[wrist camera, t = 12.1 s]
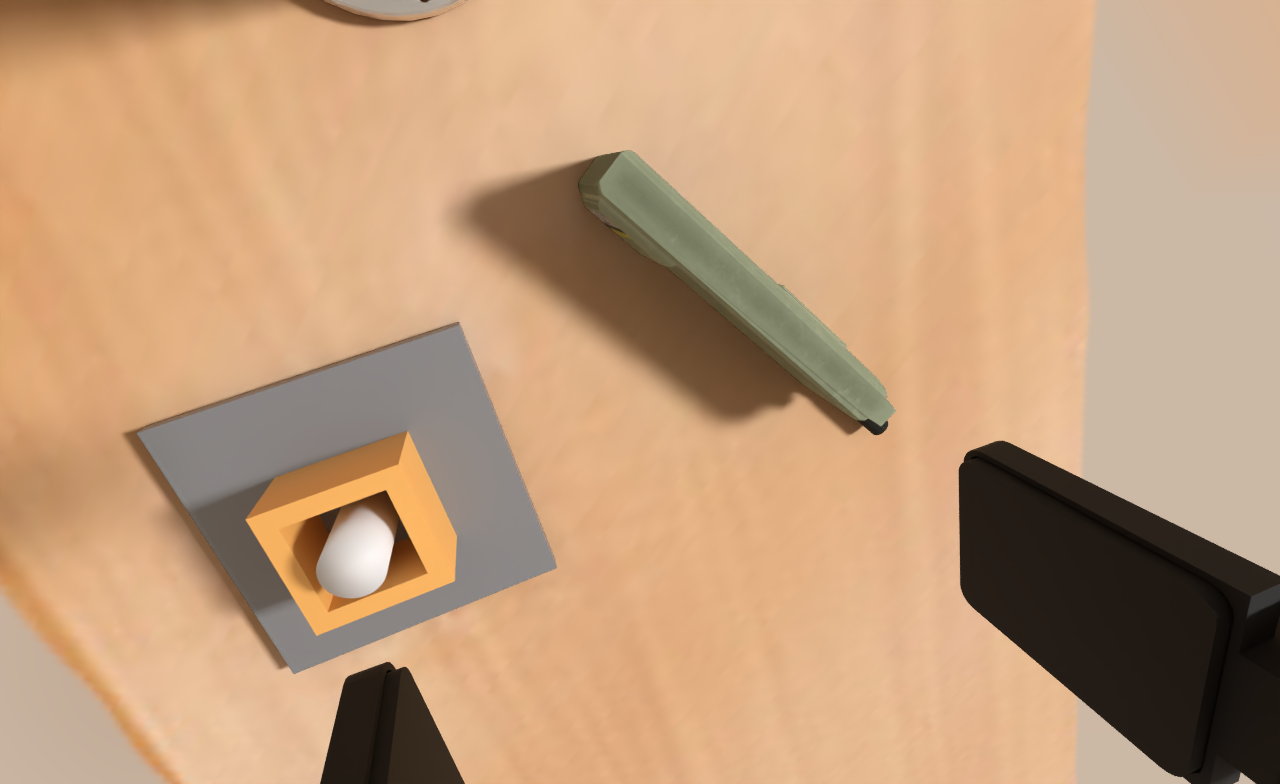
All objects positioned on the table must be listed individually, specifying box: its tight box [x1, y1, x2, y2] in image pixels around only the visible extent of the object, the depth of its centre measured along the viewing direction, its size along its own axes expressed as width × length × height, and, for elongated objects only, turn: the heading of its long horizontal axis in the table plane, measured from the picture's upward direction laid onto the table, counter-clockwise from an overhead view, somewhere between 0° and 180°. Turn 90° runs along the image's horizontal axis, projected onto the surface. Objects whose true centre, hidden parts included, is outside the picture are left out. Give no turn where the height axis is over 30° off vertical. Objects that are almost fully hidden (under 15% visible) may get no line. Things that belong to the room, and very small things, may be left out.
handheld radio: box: [578, 150, 896, 435], centre depth 34 cm, size 7×3×25 cm
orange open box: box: [245, 431, 457, 636], centre depth 31 cm, size 7×7×4 cm
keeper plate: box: [137, 322, 557, 674], centre depth 31 cm, size 16×16×7 cm
